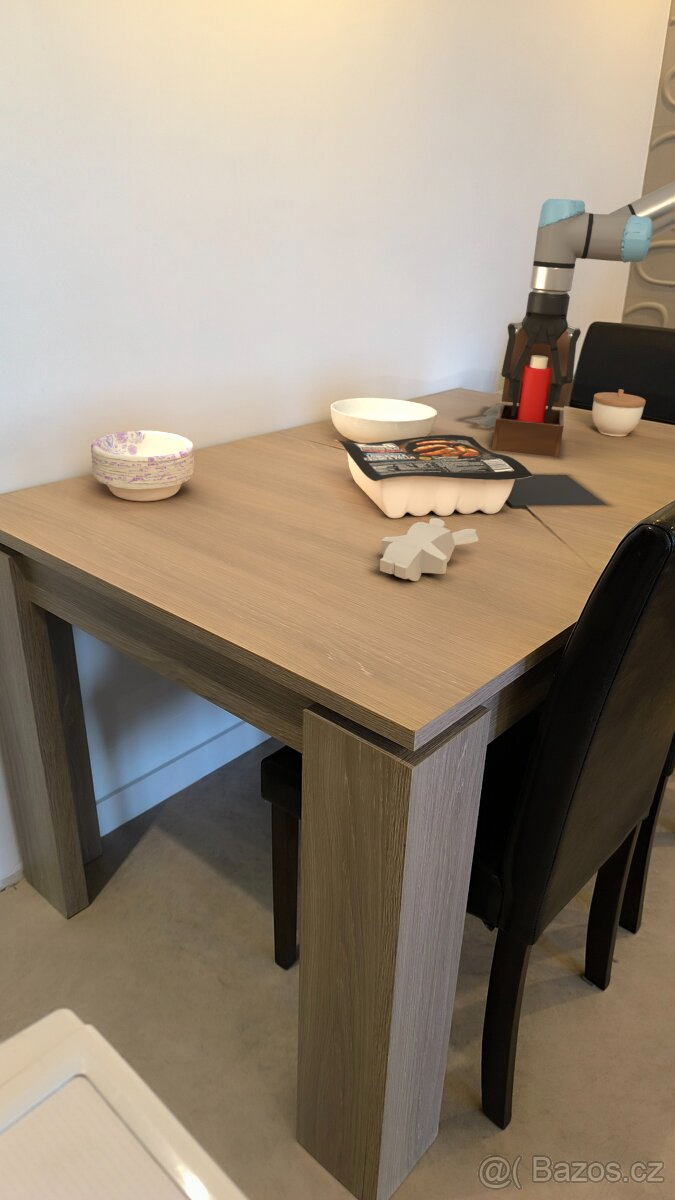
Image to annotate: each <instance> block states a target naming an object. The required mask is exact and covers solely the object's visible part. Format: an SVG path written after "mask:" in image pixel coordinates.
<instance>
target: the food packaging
mask: <svg viewBox="0 0 675 1200" xmlns="http://www.w3.org/2000/svg"><path fill="white" fill-rule="evenodd" d="M334 441H336V442H339V443H340V445H342V447H343V448H344V449H345V451H346V454H347V461H348V468H349V471H350V473H351V475H352V478H353V481H354V482H355V484H357V485H358V487H359V488H360V489H361V490H362V491H363V492H364V493H365V494H366V495H367V496H368V497H369V499H370V500H372V502H374V504H375V505H376V506H377V507H378V508H379V509H380V510H381V511H382V513H384V515H386V516H387V517H388V518H390V519H400V518H402V517H404V516H405V515H406V514H407V513H409V514H410V515H411V516H414V517H423V516H426V515H428V514H429V513H430V512H431V511H432V512H433V513H434V514H435V515H437V516H439V517H448V516H451V515H452V514H453V513H454V511H457V512H458V513H460V514H463V515H471V514H473V513H475V512H477V511H481V512H482V513H484V514H487V515H494V514H497V513H498V512H500V511H501V510H502V508H503V507H504V505H505V503H506V502H505V501H506V500H507V498H508V497H509V494H510V492H511V490H512V487H513V484H514V481H515V479H521V478H527V477H532V476H533V475H534V474H533V473H532V472H531V471H530V470H529V469H528V468H526V466H524V464H522V463H521V462H520V461H518V460H516V459H515V458H513V457H511V456H508V455H506V454H502V453H496V452H493V451H491V450H488V449H486V448H485V447H484V446H482V445H481V444H480V443H479V442H478V441H477V440H476V439H474V437H473V436H467V435H463V434H462V435H459V434H440V435H439V434H437V435H427V436H425V437H416V438H408V439H401V440H393V441H385V442H374V443H358V442H351V441H350V442H349V441H343V440H338V439H334Z"/></svg>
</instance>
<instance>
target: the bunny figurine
mask: <svg viewBox="0 0 675 1200" xmlns="http://www.w3.org/2000/svg"><path fill="white" fill-rule="evenodd" d="M445 525H446V524H445V521H444V520H443V519H441V518H437V517H432V518H430V519H429V521H428V522H424V521H418V522H415V523H414V524H412V525H411V526H410V527H409V529H408V531H407V532H406V534H404V535H403V534H402V535H395V536H385V537H383V538H382V539H381V552H380V553H381V555H383V556H382V558H380V559H379V571H381V572H383V573H386V574H389V575H394V576H395V577H398V578H400V579H403V580H409V581H412V582H418V581H419V580H420V579H421V576H422V574H436V575H437V574H438V575H443V574H446V573H447V568H448V563H449V562H450V559H451V557H452V555H453V552H454V550H455V547H456V546H459V545H467V544H474V543H476V542H479V539H480V537H479V534H478V532H477V529H475V528H462V529H459V530H457V531H454V532H452V531H451V530H450V529H448V528H446V527H444V526H445Z"/></svg>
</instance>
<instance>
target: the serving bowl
mask: <svg viewBox="0 0 675 1200" xmlns="http://www.w3.org/2000/svg"><path fill="white" fill-rule="evenodd" d="M330 417H331V421H332V423H333V425H334V427H335V429H336V430H337V431H338V433H339V434H340V435H341V436H343V437H345V438H346V439H348V440H350V441H353V442H354V443H374V442H385V441H393V440H401V439H408V438H416V437H425V436H429V434H430V433H431V432H432V431H433V429H434V427H435V424H436V421H437V418H438V411H437V410H436V409H435V408H434V407H431V406H429V405H426V404H424V403H420V402H414V401H410V400H404V399H396V398H395V399H394V398H382V397H380V398H379V397H354V398H346V399H345V398H344V399H340V400H336V401H334V402H332V403H331V404H330Z"/></svg>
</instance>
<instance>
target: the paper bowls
mask: <svg viewBox="0 0 675 1200" xmlns="http://www.w3.org/2000/svg"><path fill="white" fill-rule="evenodd" d="M90 447H91V448H90V452H91V465H92V476H93V477H94V479H95V480H96V481H98V482H99V483H101V484H104V485H106V486H107V488H108V489H109V491H110V492H111V493H112V494H113V495H114V496H115V497H117V498H120V499H122V500H126V501H132V502H156V501H162V500H165V499H168V498H171V497H173V496H175V495H176V494H177V493H178V492H179V490H180V489H181V487H182V484H183V483H185V482H187V481H189V480H191V479H192V478H193V477H194V474H195V453H194V449H195V446H194V444H193V442H192V441H191V440H190V439H188V438H186V437H184V436H182V435H179V434H175V433H171V432H165V431H157V430H127V431H119V432H114V433H113V432H112V433H109V434H104V435H101V436H99V437H97V438H95V439H94V440H93V441H92V442H91V446H90Z"/></svg>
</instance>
